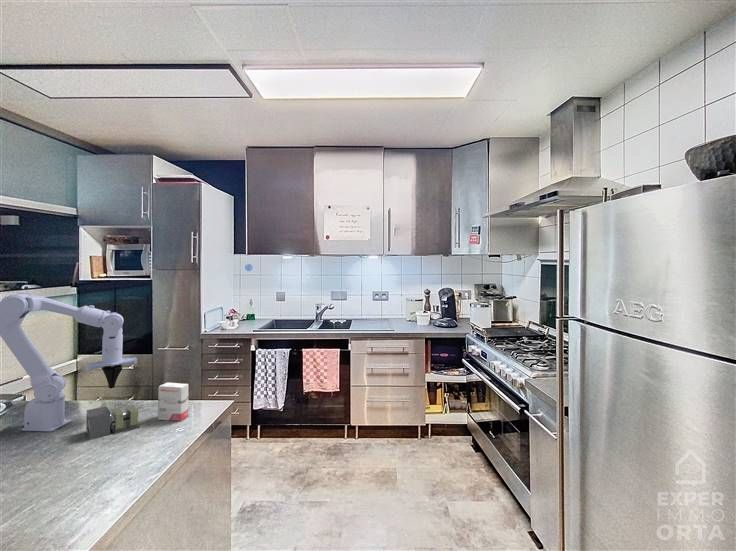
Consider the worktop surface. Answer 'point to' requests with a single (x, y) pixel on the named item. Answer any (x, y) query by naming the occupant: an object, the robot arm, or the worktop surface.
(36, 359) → the robot arm
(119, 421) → the shaft rig
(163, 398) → the ink box
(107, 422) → the grey housing block
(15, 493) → the worktop surface
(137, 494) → the worktop surface
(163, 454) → the worktop surface
